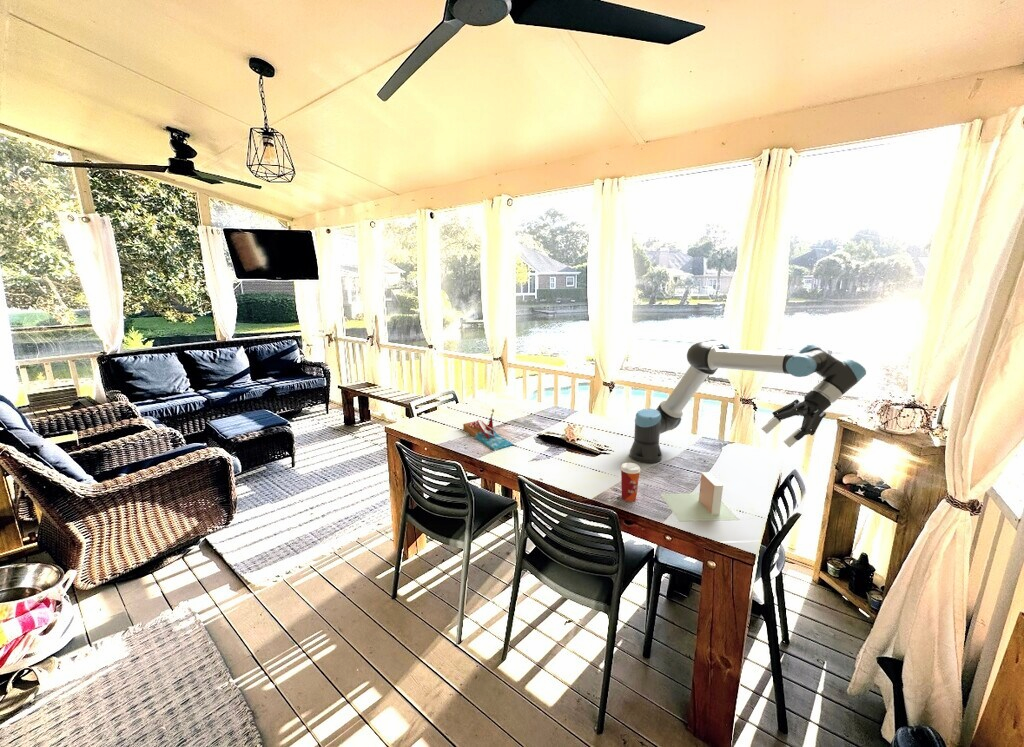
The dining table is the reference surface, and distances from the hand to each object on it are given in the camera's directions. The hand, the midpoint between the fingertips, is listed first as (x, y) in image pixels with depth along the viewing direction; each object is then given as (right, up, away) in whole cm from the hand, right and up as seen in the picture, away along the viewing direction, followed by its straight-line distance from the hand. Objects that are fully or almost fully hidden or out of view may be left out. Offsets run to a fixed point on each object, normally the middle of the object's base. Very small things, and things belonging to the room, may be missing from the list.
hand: (774, 437), depth 146 cm
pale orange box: (-21, -28, +7) cm, 35 cm away
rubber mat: (-25, -28, +8) cm, 38 cm away
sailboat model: (-111, -14, +81) cm, 137 cm away
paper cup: (-49, -27, +15) cm, 58 cm away
